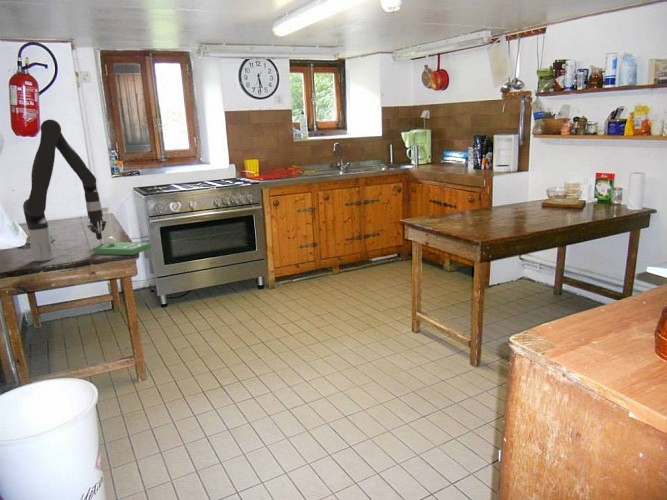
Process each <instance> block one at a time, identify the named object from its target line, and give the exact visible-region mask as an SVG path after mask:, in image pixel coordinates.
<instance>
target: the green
mask: <svg viewBox="0 0 667 500" xmlns="http://www.w3.org/2000/svg"><path fill="white" fill-rule="evenodd" d="M149 249H152V243H151V242H134V241H133V242H131V241H130V242H124V241H122V242H121V241H116V243H115V244H114V245H112V246H110V245H108V244H105V245H104V244H102V245H100V246H97V247H94V248H92V252H93V254H94V255H118V256H119V255H120V256H121V255H122V256H124V255H126V256H127V255H128V256H134V255H137V254H139V253H142V252H145V251H146V250H149Z"/></svg>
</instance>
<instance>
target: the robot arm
mask: <svg viewBox="0 0 667 500" xmlns="http://www.w3.org/2000/svg"><path fill="white" fill-rule="evenodd" d="M39 127H40V129H39V130H40V142H39V146H38V148H37V150H36V153H35V156H34V160H33V161H32V162H33V163H32V167H31V177H30V178H31V179H30V180H31V189H30V194H29V196H28V198H27V199H25V200H24V201H23V205H22V207H23V213H24V217H25V219H24V220H25V222H26V225H27V228H28V234H29V239H30V243H29V249H30V253H31V258H32V261H33V262H46V261H51V260H54V259H55V255H54V250H53V246H52V240H51V239H52V238H51V233H50V228H49V224H48V221H47V218H46V215H45V214H46V213H45V211H46V207H47V194H48V191H49V186H50V184H51V179H52V177H53V170H54V165H55V157H56V149H57V150H58V151H59V153H60V155H61V156H62V157H63V159H64V160H65V161H66V163H67V164H68V165H69V167H70V168H71V169H72V171H73V172H74V173H75V174H76V176H77V177H78V178H79V180H80V182H81V183H82V184H81V185H82V188H83V191H84V198H85V206H86V212H87V218H88V220H89V224H87V226H86V227H87V229H89V230H90V231H91V232H92V234H93V233H94V234H95V235H96V240H100V241H101V240H102V234H101V232H102V231H104V228H105V225H106V221H103V219H102V217H103V214H102V208H103V207H102V205H101V200H100V196H99V191H98V188H97V178H96V177H95V175H94V174H93V173H92V171H91V170H90V169H89V168H88V166H87V165H86V163H85V162H84V159H82V158H81V156H80V155H79V154H78V153H77V151H76V150H75V149H74V148H73V147H72V145H70V144H69V143H68V141H67V139H66V138H65V137H64V135H63V133H62V127H61V125H60V123H59V122H58V121H56V120H55V119H51V118H50V119H46V120H45V121H43V122H42V123H41V125H40V126H39Z"/></svg>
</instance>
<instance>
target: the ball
mask: <svg viewBox="0 0 667 500" xmlns="http://www.w3.org/2000/svg"><path fill="white" fill-rule="evenodd" d="M106 242H107V244H108V245H110V246H112V245H114V244H115V243H116V242H117V239H116V238H115V237H108V238H107V240H106Z"/></svg>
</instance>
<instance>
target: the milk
mask: <svg viewBox="0 0 667 500" xmlns="http://www.w3.org/2000/svg"><path fill="white" fill-rule="evenodd" d="M101 208H102V214H103V217H102V219H103V221H106V225H105V228H104V231H102V232H101V234H102V239H101V242H102V245H105V244H107V242H106V240H107V238H108V237H114V230H113V224H112V217H111V216H112V215H111V212H110V210H109V207H101ZM114 238H115V237H114Z"/></svg>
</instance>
